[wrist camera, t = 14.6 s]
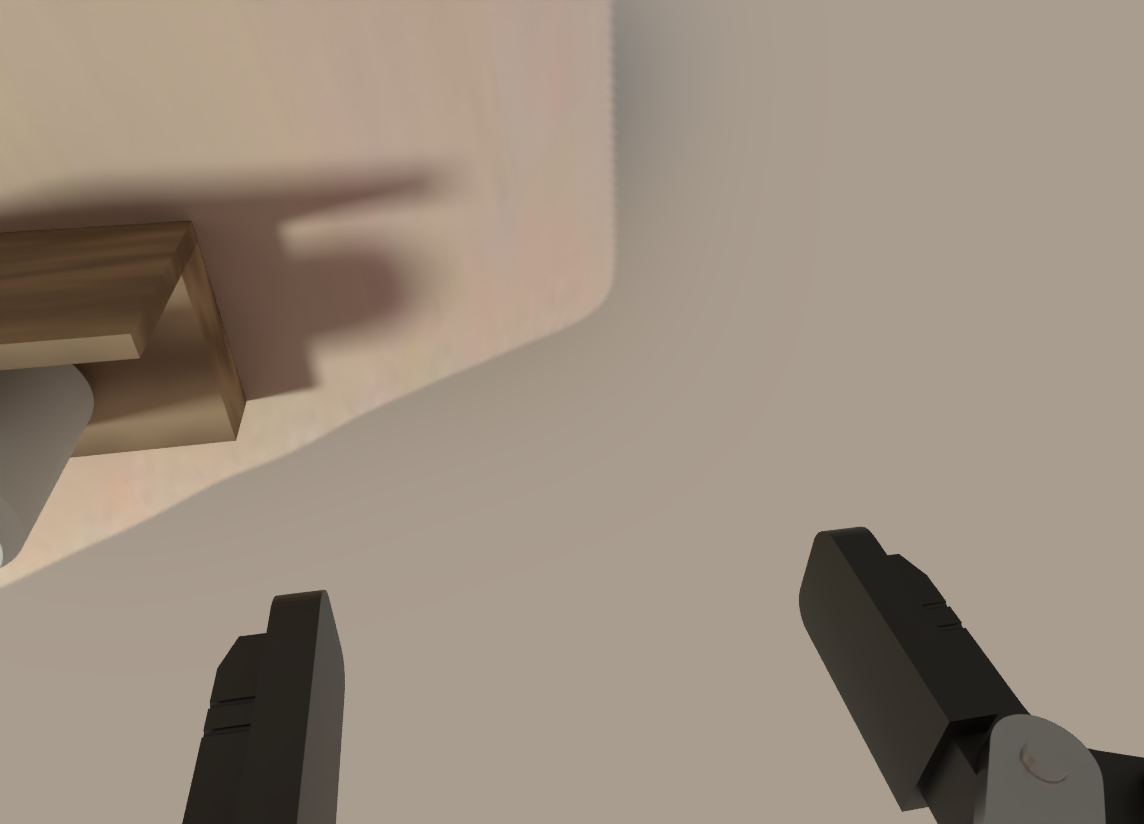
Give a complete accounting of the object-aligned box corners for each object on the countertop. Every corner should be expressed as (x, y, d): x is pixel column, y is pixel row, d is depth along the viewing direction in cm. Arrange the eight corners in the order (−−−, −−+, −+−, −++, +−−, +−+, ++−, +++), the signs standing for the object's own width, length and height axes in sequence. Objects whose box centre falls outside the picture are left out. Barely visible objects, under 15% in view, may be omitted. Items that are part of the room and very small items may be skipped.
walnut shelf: (-186, 244, 39) (-374, 375, 29) (191, 221, 41) (130, 334, 32) (-69, 431, 46) (-190, 585, 36) (246, 401, 49) (209, 537, 39)
